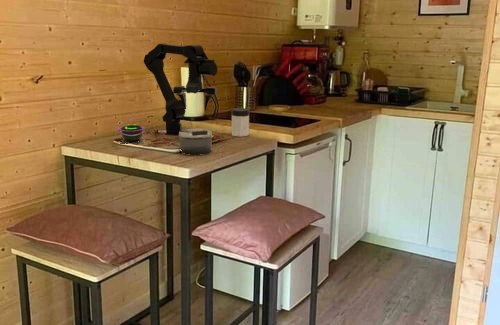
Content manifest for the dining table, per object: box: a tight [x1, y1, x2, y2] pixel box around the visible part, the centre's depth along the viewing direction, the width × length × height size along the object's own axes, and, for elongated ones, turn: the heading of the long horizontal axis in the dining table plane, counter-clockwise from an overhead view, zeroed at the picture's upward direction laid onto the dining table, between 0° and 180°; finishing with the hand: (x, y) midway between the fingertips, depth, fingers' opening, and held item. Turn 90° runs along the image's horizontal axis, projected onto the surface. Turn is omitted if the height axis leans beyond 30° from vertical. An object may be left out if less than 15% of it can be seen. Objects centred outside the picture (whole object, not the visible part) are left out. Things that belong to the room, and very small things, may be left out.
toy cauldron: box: [117, 118, 146, 144], centre depth 213 cm, size 15×15×11 cm
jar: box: [231, 107, 250, 138], centre depth 234 cm, size 9×8×12 cm
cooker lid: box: [178, 128, 213, 139], centre depth 202 cm, size 13×13×3 cm
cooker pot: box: [178, 135, 213, 156], centre depth 204 cm, size 14×13×6 cm
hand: (195, 109), depth 224 cm, fingers open, 9 cm apart
